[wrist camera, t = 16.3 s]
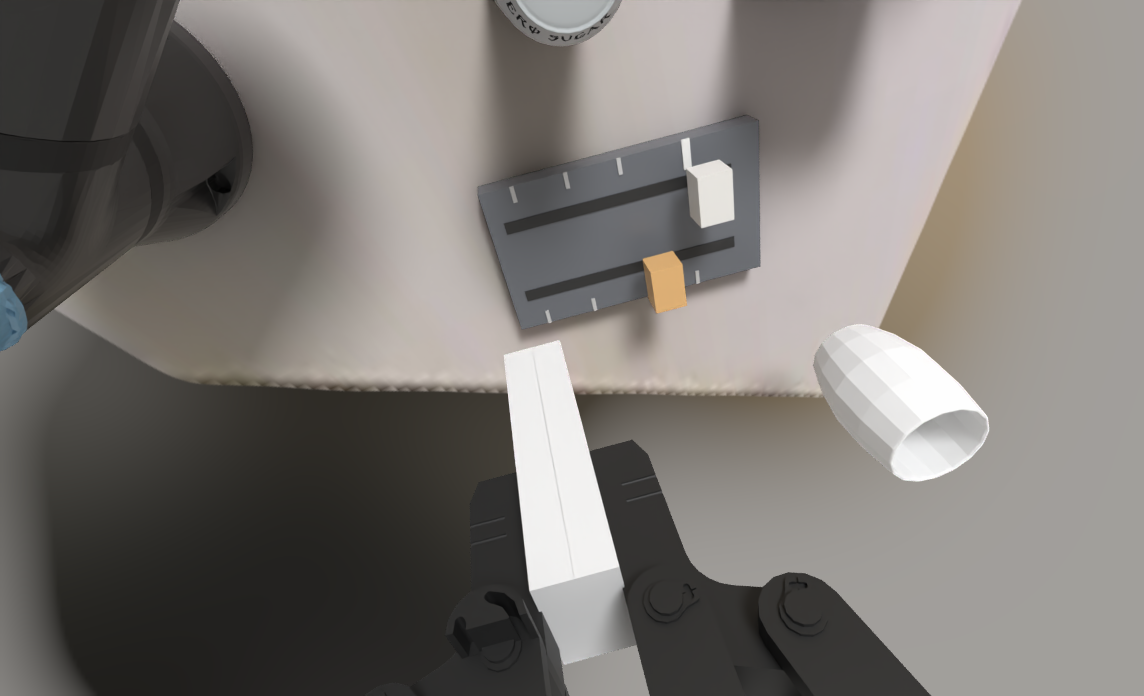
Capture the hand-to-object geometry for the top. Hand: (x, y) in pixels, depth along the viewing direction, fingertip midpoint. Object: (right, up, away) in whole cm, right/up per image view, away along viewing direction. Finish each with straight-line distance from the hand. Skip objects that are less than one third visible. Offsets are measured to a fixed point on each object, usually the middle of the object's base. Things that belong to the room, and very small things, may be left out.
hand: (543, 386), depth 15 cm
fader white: (+10, +14, +26) cm, 31 cm away
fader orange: (+7, +8, +29) cm, 31 cm away
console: (+5, +11, +29) cm, 32 cm away
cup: (+20, +7, +35) cm, 41 cm away
